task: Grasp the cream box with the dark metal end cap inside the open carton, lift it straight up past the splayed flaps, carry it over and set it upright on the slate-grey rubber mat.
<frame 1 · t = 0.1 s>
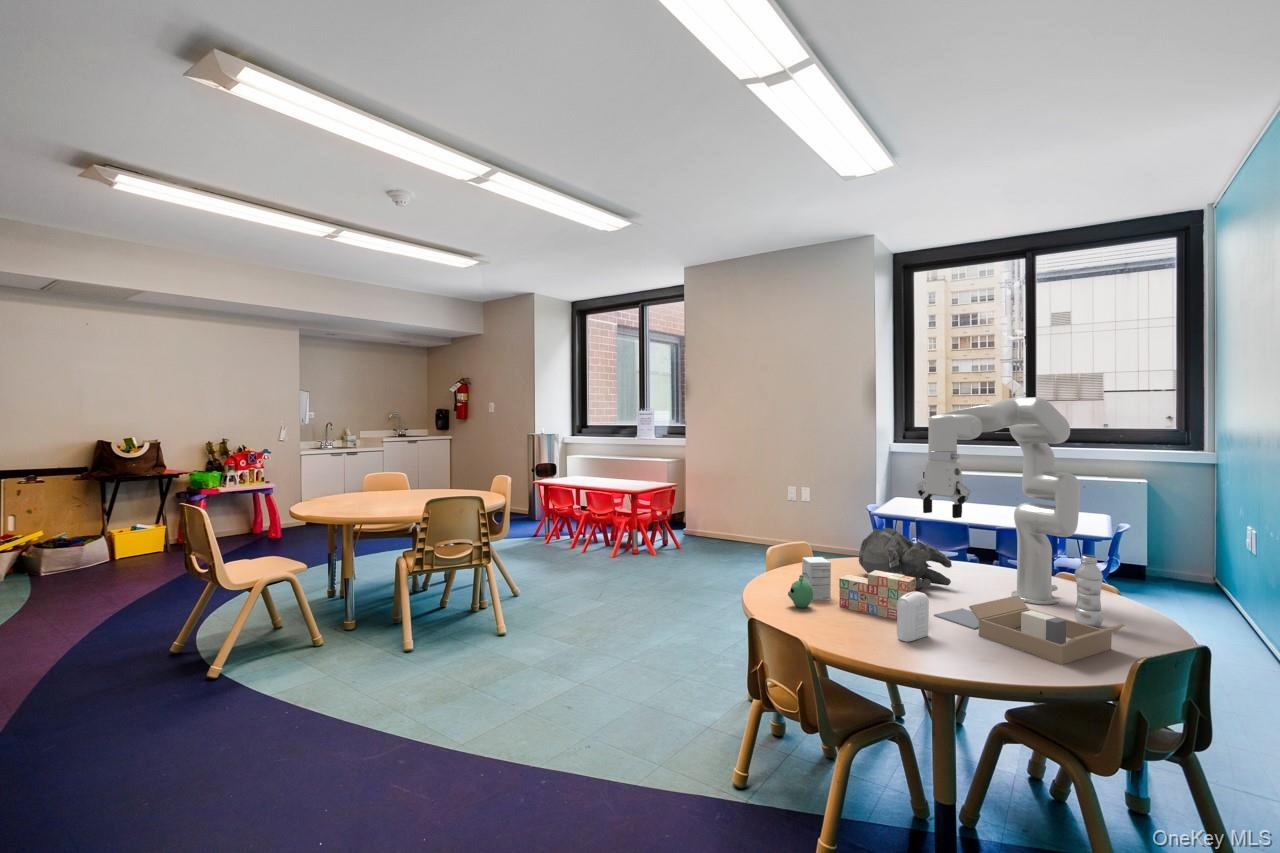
hand: (941, 515, 179), 31 cm above the table, tool pointing down, fingers open, 9 cm apart
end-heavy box: (1043, 629, 162), in the carton
carton: (1043, 642, 162), on the table
alien toy: (800, 607, 192), on the table
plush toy: (903, 583, 220), on the table
stack of blocks: (876, 612, 188), on the table
photo printer: (912, 638, 166), on the table
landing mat: (967, 618, 181), on the table
plastic bottle: (1088, 625, 175), on the table
supplement box: (816, 597, 203), on the table
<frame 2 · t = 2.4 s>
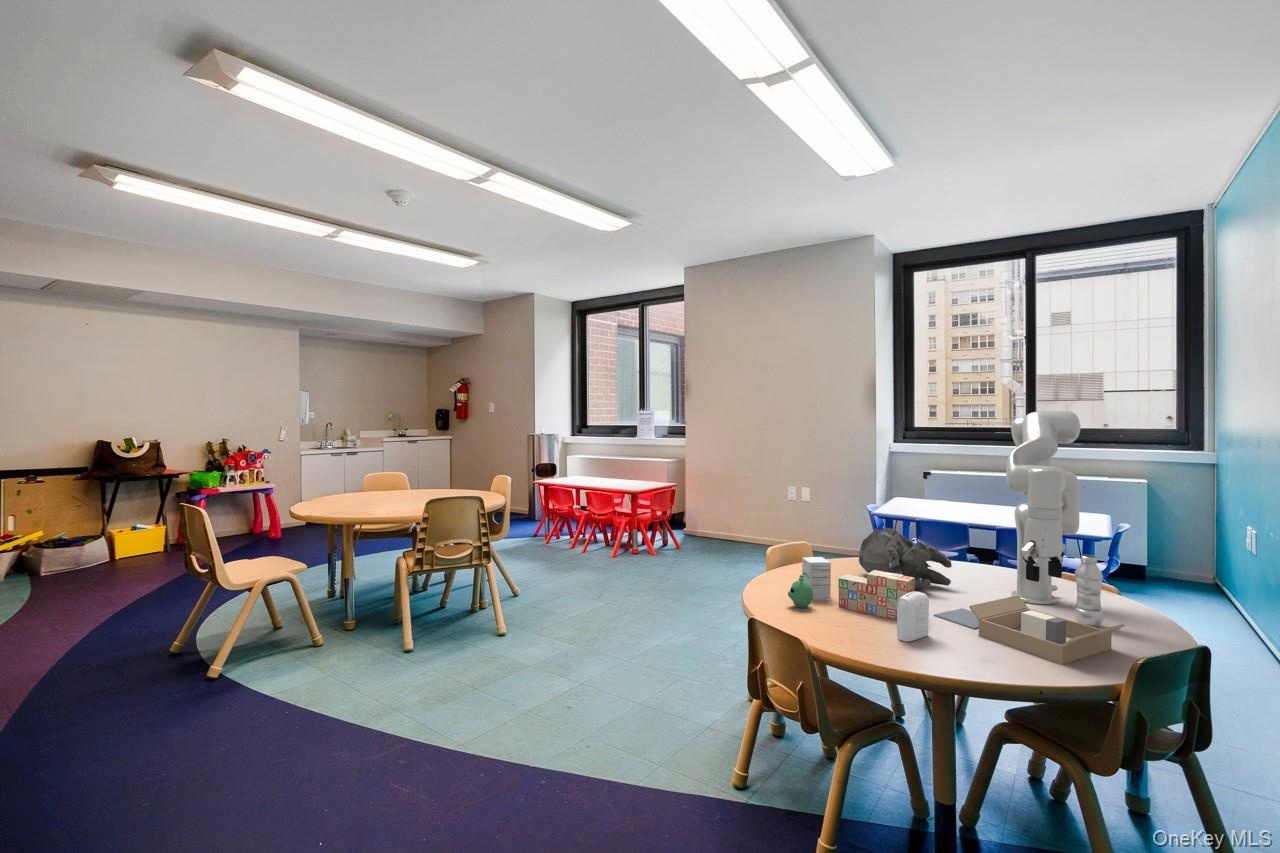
hand: (1043, 578, 162), 17 cm above the table, tool pointing down, fingers open, 9 cm apart
nothing on the table moved.
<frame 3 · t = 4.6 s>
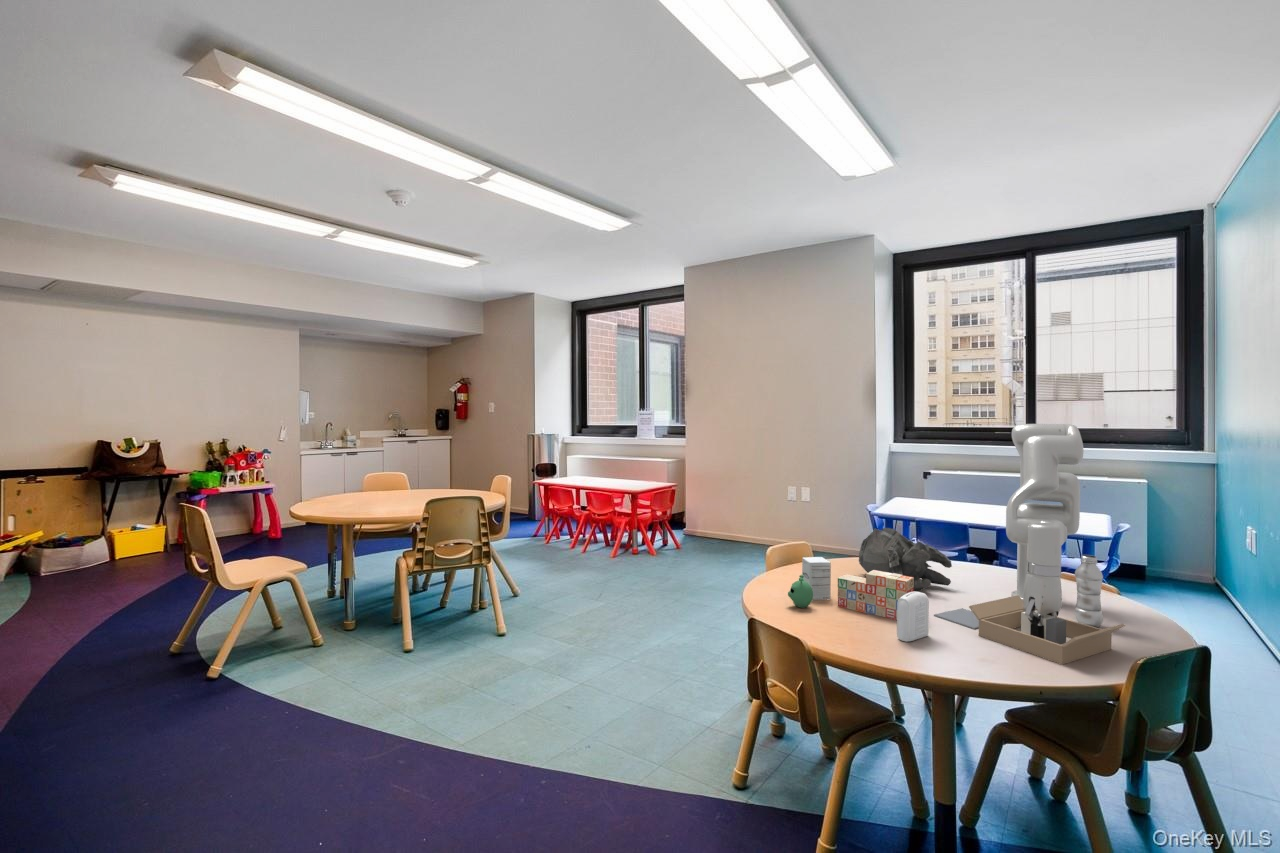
hand: (1043, 637, 162), 1 cm above the table, tool pointing down, fingers closed on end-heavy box, 4 cm apart
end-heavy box: (1043, 629, 162), in the carton, touching gripper
everything else where it was.
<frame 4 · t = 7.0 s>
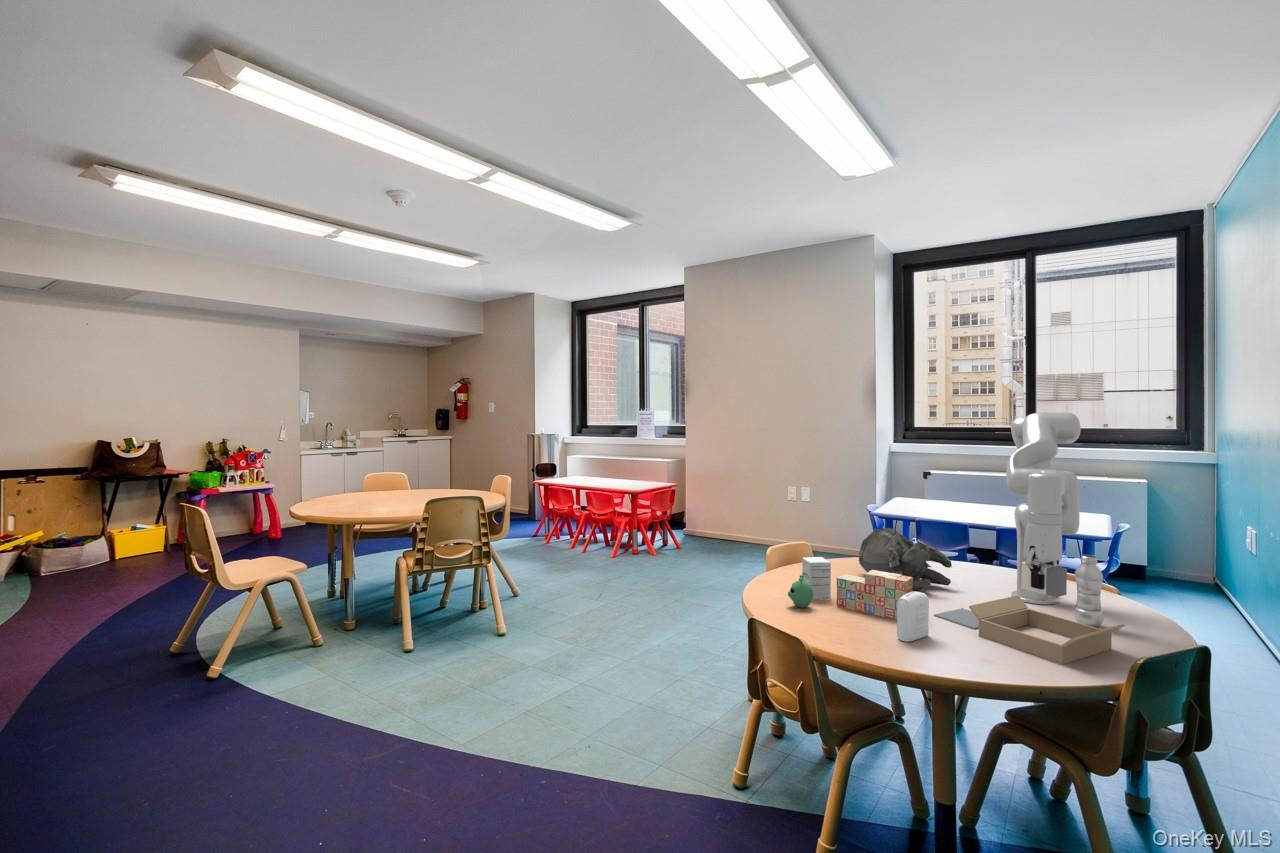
hand: (1043, 586, 162), 15 cm above the table, tool pointing down, fingers closed on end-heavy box, 4 cm apart
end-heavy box: (1043, 578, 162), point 17 cm above the table, touching gripper
everything else where it was.
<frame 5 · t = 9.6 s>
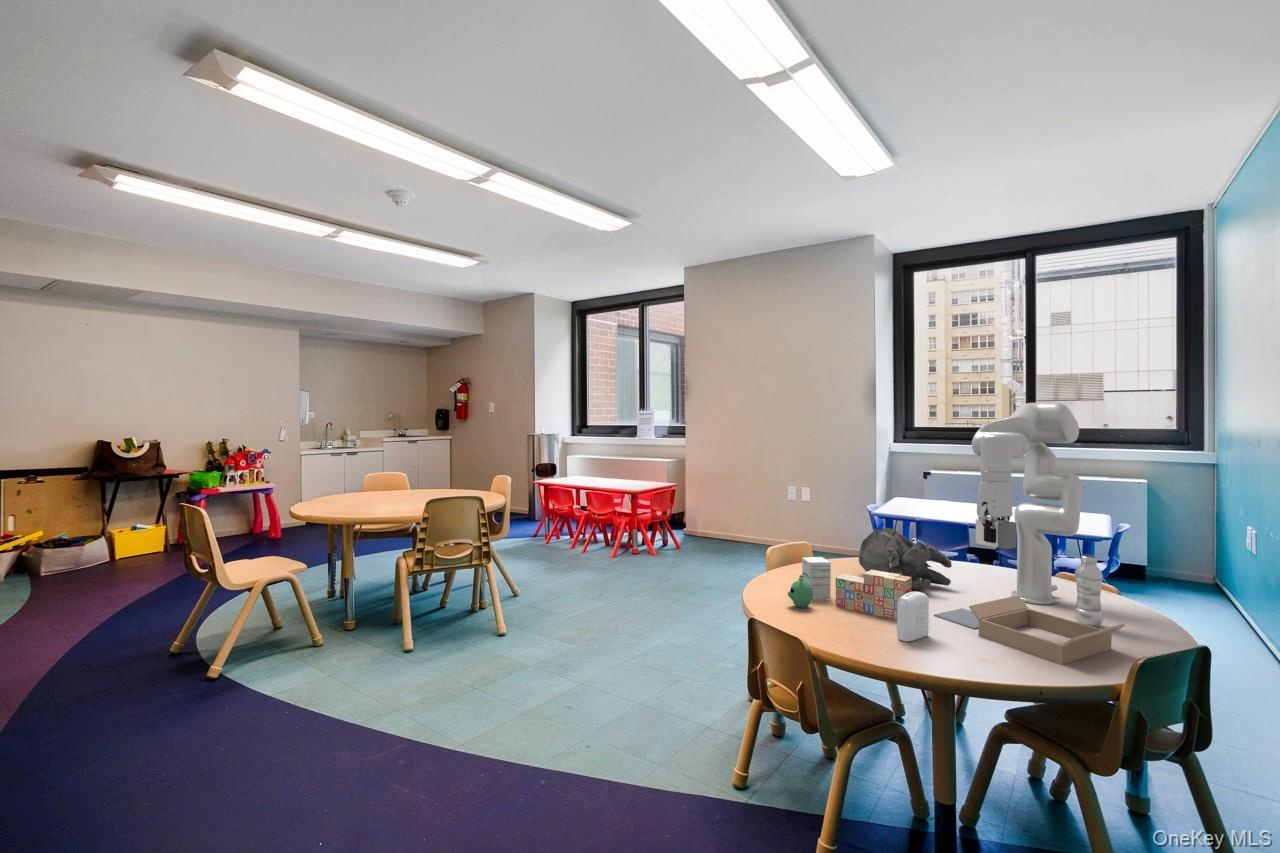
hand: (995, 540, 173), 25 cm above the table, tool pointing down, fingers closed on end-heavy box, 4 cm apart
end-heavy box: (995, 533, 173), point 27 cm above the table, touching gripper
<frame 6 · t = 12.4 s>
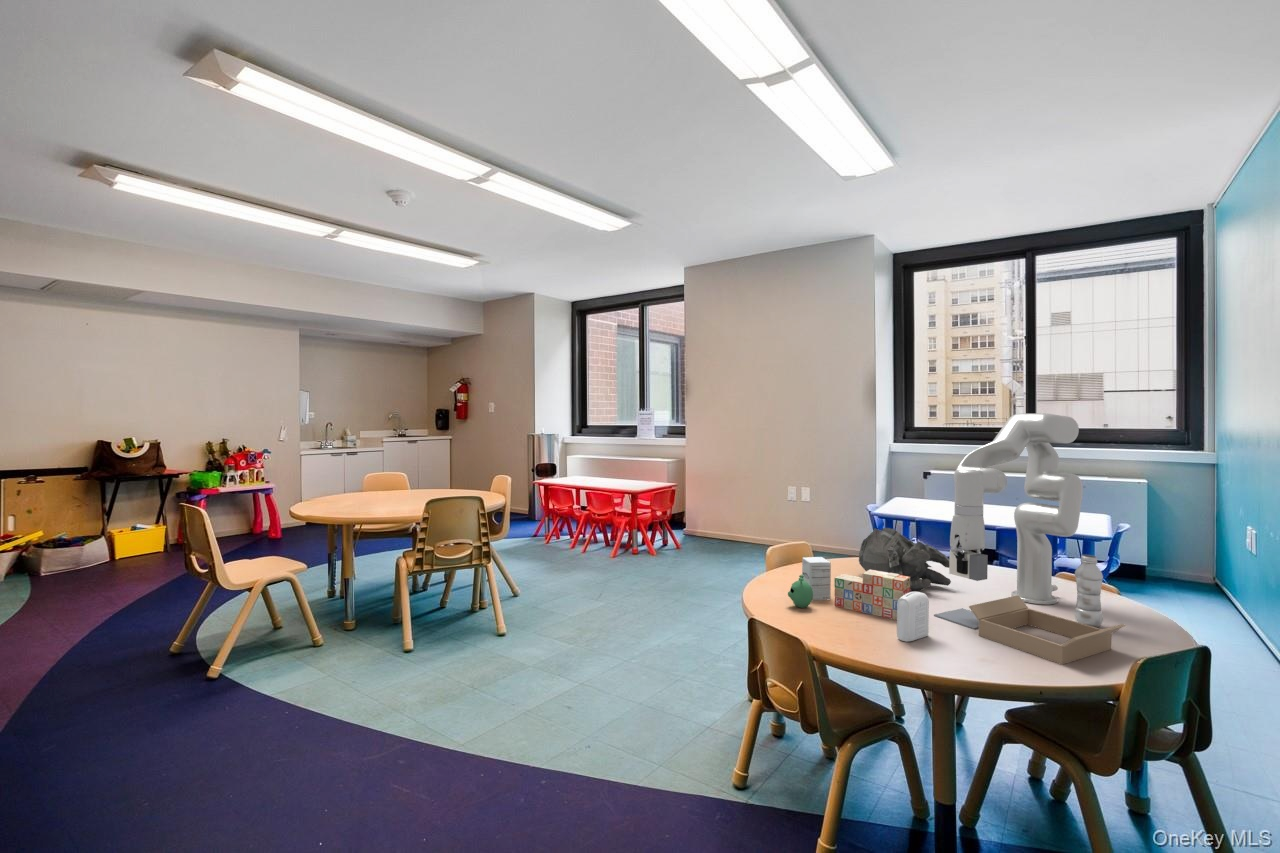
hand: (968, 571, 180), 14 cm above the table, tool pointing down, fingers closed on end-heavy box, 4 cm apart
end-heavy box: (968, 564, 180), point 16 cm above the table, touching gripper
when the fingers open (3 cm above the table, at t = 14.8 s): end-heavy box drops 1 cm, resting on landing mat.
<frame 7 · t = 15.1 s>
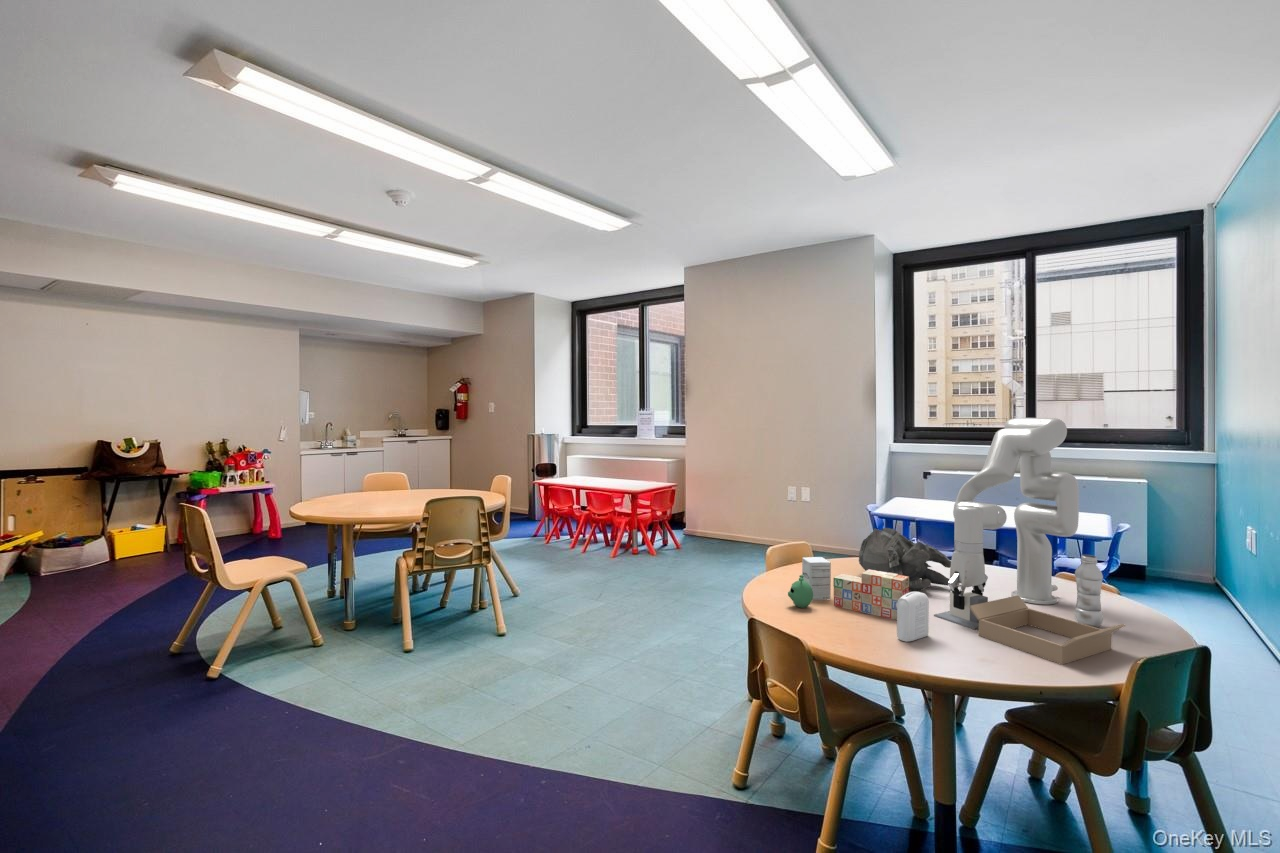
hand: (968, 606, 181), 4 cm above the table, tool pointing down, fingers open, 7 cm apart
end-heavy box: (968, 605, 181), on the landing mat
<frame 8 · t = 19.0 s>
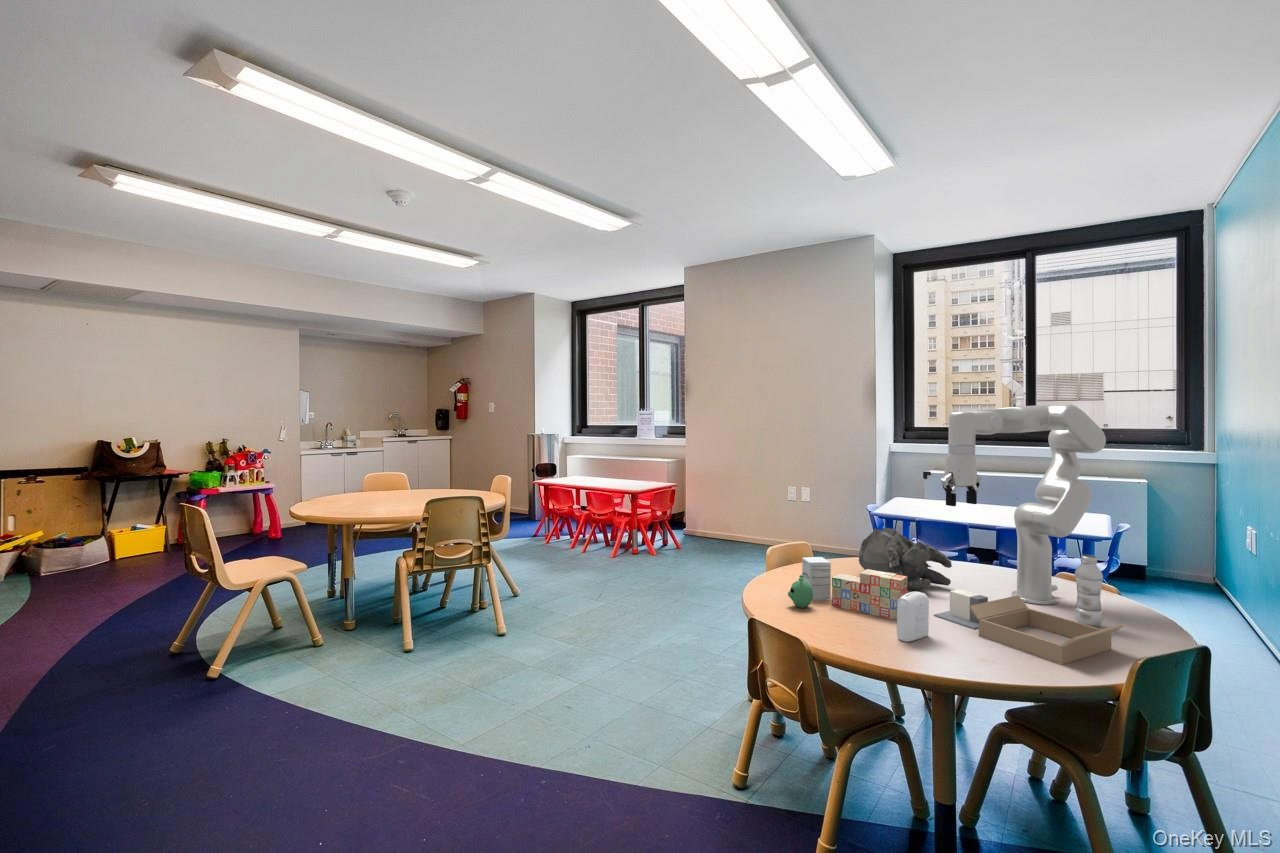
hand: (961, 504, 192), 32 cm above the table, tool pointing down, fingers open, 9 cm apart
at the end: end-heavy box inside the target area (0.2 cm from its centre), resting on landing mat; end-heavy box tilted 0°; the gripper is holding nothing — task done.
